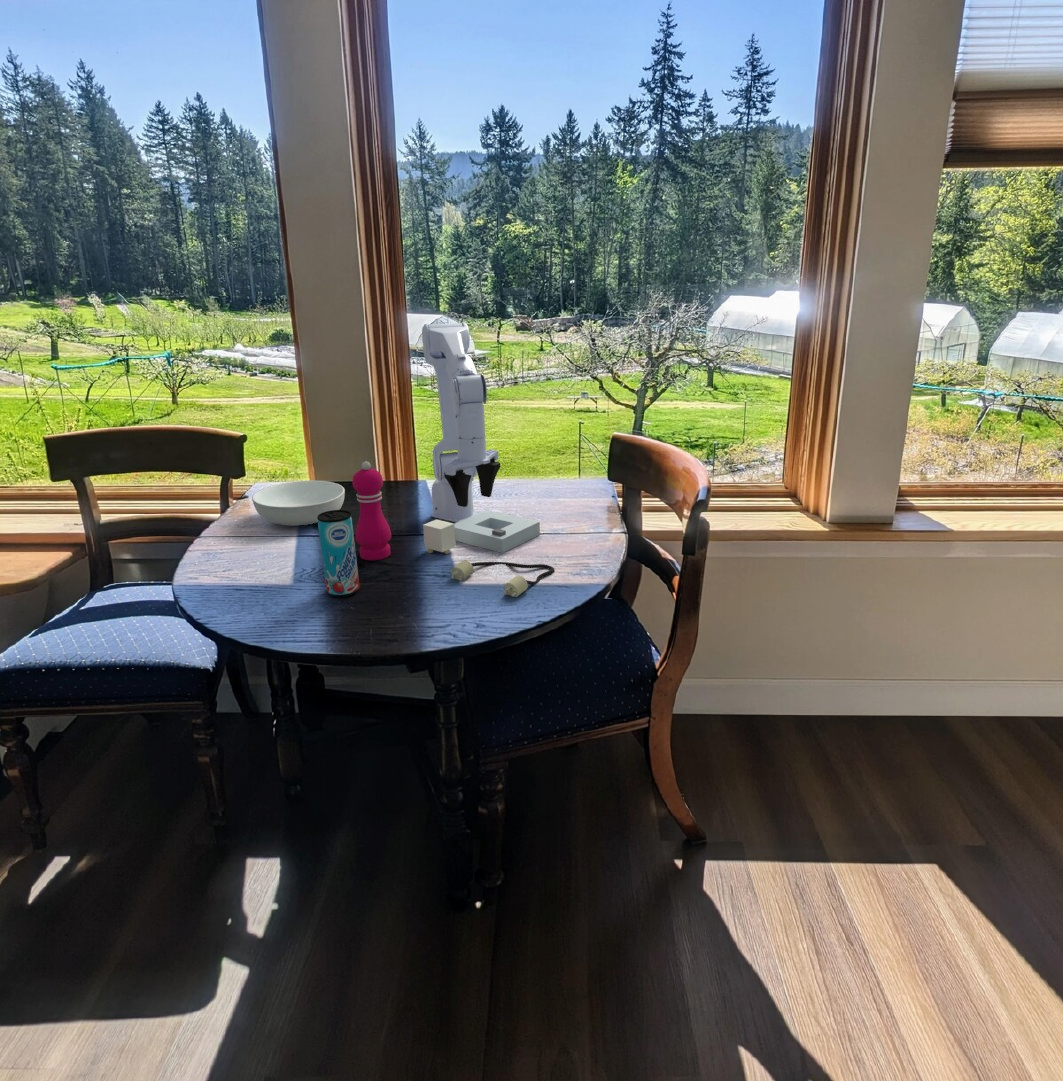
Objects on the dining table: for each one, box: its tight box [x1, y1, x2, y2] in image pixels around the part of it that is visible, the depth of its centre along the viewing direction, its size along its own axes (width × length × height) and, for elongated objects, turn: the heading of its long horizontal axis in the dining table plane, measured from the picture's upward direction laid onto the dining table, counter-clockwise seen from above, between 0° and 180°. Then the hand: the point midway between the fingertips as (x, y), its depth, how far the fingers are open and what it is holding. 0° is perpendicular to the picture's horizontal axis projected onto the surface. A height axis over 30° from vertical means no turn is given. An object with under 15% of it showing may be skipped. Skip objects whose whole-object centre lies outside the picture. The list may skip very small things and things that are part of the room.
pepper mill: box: [352, 460, 392, 561], centre depth 153 cm, size 7×7×20 cm
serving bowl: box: [251, 480, 346, 527], centre depth 178 cm, size 21×21×7 cm
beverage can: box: [317, 509, 360, 598], centre depth 137 cm, size 6×6×15 cm
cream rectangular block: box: [422, 518, 456, 555], centre depth 156 cm, size 5×4×6 cm
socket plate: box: [453, 509, 541, 554], centre depth 164 cm, size 15×13×4 cm
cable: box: [450, 559, 555, 598], centre depth 144 cm, size 16×16×4 cm
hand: (474, 500), depth 155 cm, fingers open, 7 cm apart
